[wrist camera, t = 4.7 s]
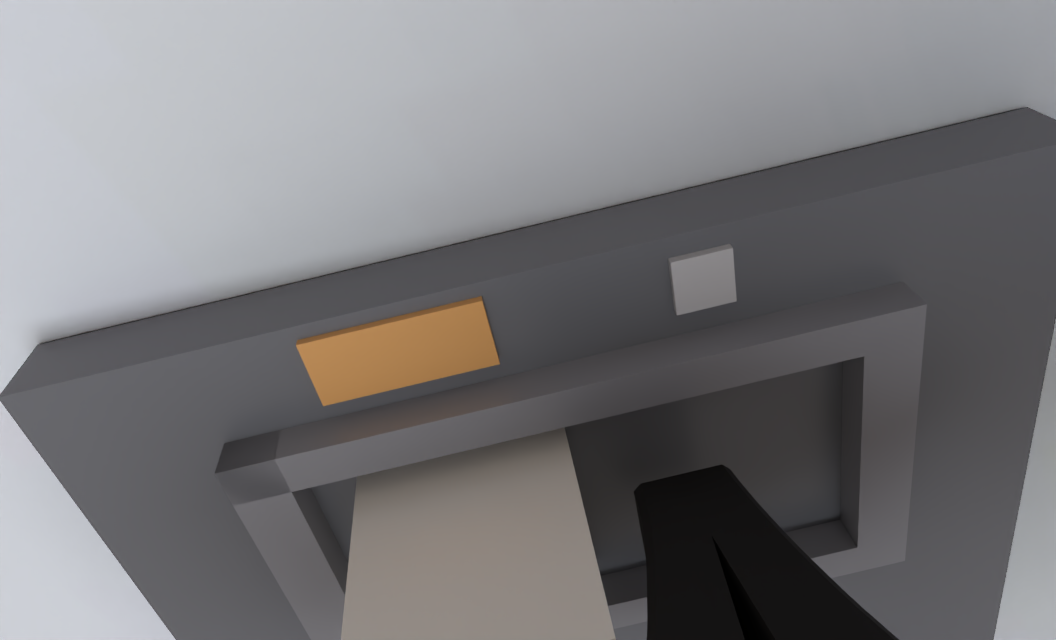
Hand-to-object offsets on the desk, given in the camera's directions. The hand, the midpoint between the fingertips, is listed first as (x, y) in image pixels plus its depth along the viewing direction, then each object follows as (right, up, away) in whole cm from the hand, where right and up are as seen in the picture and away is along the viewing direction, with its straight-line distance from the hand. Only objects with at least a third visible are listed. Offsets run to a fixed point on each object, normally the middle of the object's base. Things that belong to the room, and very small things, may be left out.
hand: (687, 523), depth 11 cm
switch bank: (-1, -2, +4) cm, 5 cm away
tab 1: (-3, 0, +1) cm, 3 cm away
